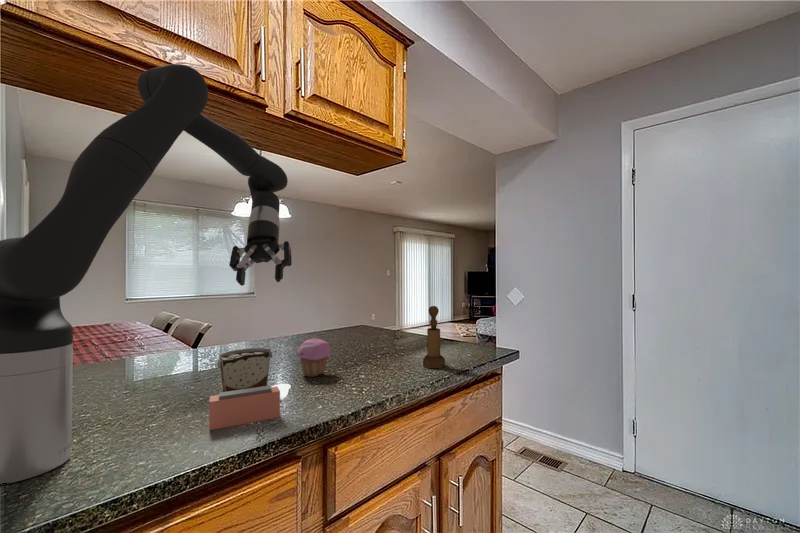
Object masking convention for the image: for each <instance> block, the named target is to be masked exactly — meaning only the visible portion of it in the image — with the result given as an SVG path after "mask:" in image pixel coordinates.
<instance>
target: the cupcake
mask: <svg viewBox="0 0 800 533" xmlns="http://www.w3.org/2000/svg"><path fill="white" fill-rule="evenodd" d="M330 346H331V345H329V343H328V342H327V341H326V340H323V339H322V338H321V339H320V338H314V337H313V338H310V339H307V340H304V342H303V343H301V345H300V346H299V347H298V348H297V356H298V357H299V358H300V362H301V371H302V375H304V376H306V377H312V378H313V377H314V378H315V377H318V376H319V375H322V374H325V370H326V365H327V362H328V360H329V356H330V355H331V353H332V350H331V347H330Z"/></svg>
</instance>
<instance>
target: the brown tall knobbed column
mask: <svg viewBox="0 0 800 533" xmlns="http://www.w3.org/2000/svg"><path fill="white" fill-rule="evenodd" d="M439 313H440V312H439V307H438V306H436V305H432V306H429V308H428V314H429V315H430V321H429V324H430V327H429V328H427V331H426V333H427V334H426V336H427V337H426V339H427V345H426V346H427V351H426V353H427V354H426V355H425V356H424V357H423V358H422V360H423V361H422V366H423V367H424V368H426V369H430V368H439V369H442V367H443V368H445V367H444V366H446V359H445V357H443V355H441V328H437V327H438V320H437V316H438V314H439Z"/></svg>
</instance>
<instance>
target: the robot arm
mask: <svg viewBox="0 0 800 533" xmlns="http://www.w3.org/2000/svg"><path fill="white" fill-rule="evenodd" d="M137 90H138V93H139V95H140V97H141V99H142V101H143V102H144V104H142V105H141V106H140V107H138V108H137V109H135V110H133V111H131V112H130V113H128V114H127V115H124V116H123V117H121V118H119V119H118V120H117V121H115V122H113V123H112V124H110V125H109V126H107V127H106V128H105V129H103V130H102V131H101V132H99V134H97V135H96V136H95V137H94V138H93V140H91V141H90V143H89V144H88V145H87V146H86V147H85V148H84V149H83V150H82V152H81V153H80V154H79V156H77V159H76V160H75V161H74V163H73V164H72V167H71V168H70V169H71V170H70V172H69V175H68V180H67V183H66V186H65V189H64V192H63V194H62V196H61V198H60V200H59V201H58V202H57V204H56V205H55V207H54V208H52V210H51V211H50V212H48V214H47V215H46V216H45V217H44V218H43V219H42V220H41V221H40V222H39V223H38V224H37V225H36V226H35V227H34V228H32V230H30V231H29V232H28V233H27V234H25V235H24V236H21V237H20V236H19V237H12V238H5V239H1V240H0V484H1V483H7V484H11V483H16V482H20V481H24V480H29V479H31V478H34V477H38V476H40V475H43V474H45V473H48V472H50V471H51V470H54V469H56V468H58V467H60V466H62V465H63V464H64V463H66V462H67V461H68V460H70V458H71V456H72V444H73V443H72V427H73V426H72V420H73V416H72V415H73V414H72V412H73V369H74V368H73V367H74V366H73V363H74V359H73V358H74V356H73V355H74V354H73V353H74V343H73V342H74V328H73V326H72V324H71V323H70V322H69V321H68V320H67V319H66V318H65V316H64V314H63V313H62V309H61V300H60V298H61V297H63V296H65V295H68V293H70V292H72V291H73V290H74V289H75V288H76V287H78V285H79V284H80V283H81V282H82V281H83V279H84V277H85V276H86V274H87V273H88V271H89V269H90V267H91V265H92V263H93V261H94V259H95V257H96V256H97V254H98V253H99V250H100V248H101V247H102V245H103V243H104V241H105V239H106V238H107V235H108V234H109V233H110V231H111V230H112V228H113V227H114V225H115V224H116V222H118V220H119V219H120V218H121V216H122V215H123V214H124V212H125V211H126V210H127V209H128V207H129V206H130V204H131V203H132V202H133V200H134V199H135V197H136V196H138V194H139V193H140V191H141V190H142V189H143V187H144V186H145V185H146V183H147V182H148V180H149V179H150V178H151V176H152V175H153V173H154V171H155V170H156V169H157V168H158V166H159V164H160V163H161V161H162V160H163V159H164V158H165V156H166V155H167V153H168V152H169V151H170V149H171V148H172V146H173V145H174V143H175V142H176V141H177V139H178V138H179V136H181V134H182V133H183V132H185V133H187V135H190V136H191V137H193V138H194V139H196V140H197V141H198V142H200V143H202V144H203V145H204V146H206V147H208V148H209V149H210V150H212V151H213V152H214V153H216V154H217V155H218V156H219V157H221V159H223V160H224V161H225V162H227V163H228V164H229V165H230V166H231V167H232V168H233V169H234V170H236V171H237V172H238V173H239V174H240V175H242V176H244V177H248V178H247V185H248V188H249V192H250V193H249V194H250V197H251V208H250V215H249V219H248V227H247V235H246V236H247V237H246V245H245V246H244V247H239V246H238V245H234V246H233V247H232V250H231V255H230V259H229V267H230V268H231V269H232V271H233V272H236V277H235V281H236V282H237V283H238V284H239V285H240V286H245V282H246V275H247V274H246V273H247V272H246V271H247V270H248V269H249V268H250V267H252V266H253V265H254V264H255V263H256V264H261V263H269V262H270V261H272V262H273V263H274V264H275V267H274V268H275V271H274V279H275V282H276V283H279V282H281V280H283V278H284V268H285V267H291V266H292V265H293V264H292V262H293V260H292V247H291V245H290V243H289V241H287V240H286V241H284V242H283V243H279V241H280V240H279V238H280V237H279V236H280V229H281V228H280V223H281V222H280V207H281V206H280V203H281V202H280V198H279V197H278V195H277V194H276V192H279V191H282V190H284V189H286V187H287V186H288V182H289V181H288V177H287V173H286V172H285V171H284V168H282V167H281V166H280V165H278V164H276V163H275V162H273V161H272V160H270V159H268V158H266V157H265V156H263V155H261V154H259V153H258V152H257V151H256V150H255V149H254V148H253V147H252V146H251V145H250V144H249V143H248V142H247V141H246V140H245V139H244V138H242V137H241V136H240V135H238V134H237V133H235V132H233V131H232V130H230V129H228V128H226V127H224V126H222V125H220V124H219V123H217V122H215V121H213V120H211V119H210V118H209V117H208V116H205V115H204V114H203V112H204V110H205V108H206V106H207V103H208V100H209V89H208V86H207V82H206V80H205V78H204V76H203V75H202V74H201V73H200V72H199V71H198V70H197V69H196V68H194V67H192V66H189V65H187V64H181V63H180V64H179V63H170V64H166V65H162V66H157V67H152V68H149V69H146V70H144V71H143V72H141V73H140V74H139V76H138V78H137ZM280 251H282V253H283V258H284V259H283V258H282V259H280V258H279V256H277V254H278V253H279V252H280ZM1 485H2V484H1Z"/></svg>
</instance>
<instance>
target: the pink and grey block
mask: <svg viewBox="0 0 800 533" xmlns="http://www.w3.org/2000/svg"><path fill="white" fill-rule="evenodd" d="M208 411H209V414H208V415H209V416H208V417H209V422H208V424H209V425H208V426H209V427H208V428H209V429H208V430H209V431H213V430H220V429H225V428H230V427H235V426H241V425H245V424H251V423H256V422H261V421H268V420H274V419H278V418H281V391H280V389H279V387H278V385H276V386H271V385H267V386H262V387H255V388H249V389H242V390H235V391H228V392H223V391H222V392H218V394H216V395H209V410H208Z"/></svg>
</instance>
